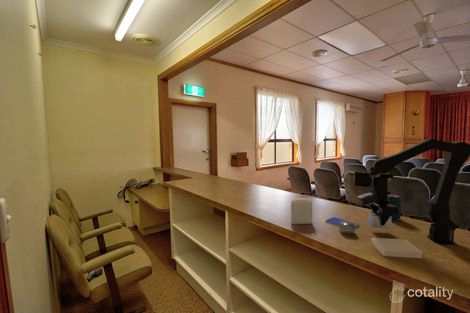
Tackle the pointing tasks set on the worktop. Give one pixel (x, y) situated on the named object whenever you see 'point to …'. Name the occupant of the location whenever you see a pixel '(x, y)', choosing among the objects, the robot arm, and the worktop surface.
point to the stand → (396, 248)
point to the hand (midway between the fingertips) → (379, 223)
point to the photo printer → (301, 211)
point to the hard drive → (337, 221)
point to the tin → (346, 228)
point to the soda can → (396, 202)
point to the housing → (377, 220)
